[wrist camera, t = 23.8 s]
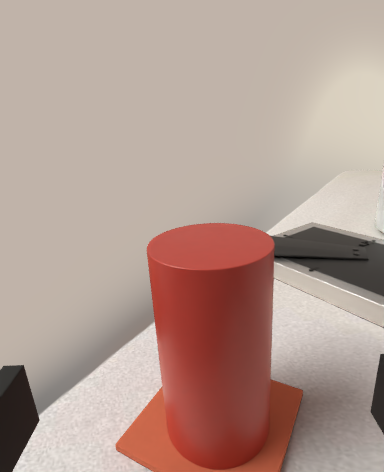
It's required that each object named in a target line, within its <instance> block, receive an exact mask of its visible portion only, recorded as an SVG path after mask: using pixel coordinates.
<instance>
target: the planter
mask: <svg viewBox="0 0 384 472" xmlns="http://www.w3.org/2000/svg"><path fill="white" fill-rule="evenodd" d="M375 226H376V228H377V229H378V230H379V231H381V232H382V233H384V165H383V172H382V179H381V185H380V192H379V198H378V204H377V210H376V217H375Z"/></svg>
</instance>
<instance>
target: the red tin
mask: <svg viewBox="0 0 384 472" xmlns="http://www.w3.org/2000/svg"><path fill="white" fill-rule="evenodd" d="M274 248H275V244H274V241H273V239H272V238H271V237H270V236H269V235H268V234H267V233H265V232H263V231H261V230H258V229H255V228H252V227H248V226H243V225H237V224H225V223H209V224H197V225H189V226H184V227H179V228H175V229H172V230H169V231H166V232H164V233H162V234H160V235H158V236H156V237H155V238H153V239H152V240H151V241H150V242H149V244H148V246H147V257H148V265H149V274H150V283H151V291H152V300H153V308H154V317H155V326H156V335H157V344H158V352H159V361H160V370H161V378H162V387H163V396H164V404H165V413H166V422H167V430H168V434H169V437H170V440H171V442H172V444H173V445H174V447H175V448H176V450H177V451H178V452H179V453H180V454H181V455H182V456H183V457H184V458H186V459H187V460H188V461H190V462H192V463H194V464H196V465H198V466H201V467H204V468H208V469H216V470H222V469H230V468H235V467H238V466H241V465H243V464H245V463H247V462H248V461H250V460H251V459H253V458H254V457H255V456H256V455H257V454H258V453H259V452H260V450H261V449H262V448H263V446H264V444H265V442H266V440H267V437H268V433H269V415H270V382H271V348H272V315H273V281H274Z"/></svg>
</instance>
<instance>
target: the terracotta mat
mask: <svg viewBox="0 0 384 472" xmlns="http://www.w3.org/2000/svg"><path fill="white" fill-rule="evenodd" d="M302 396H303V390H301V389H298V388H295V387H292V386H289V385H286V384H283V383H280V382H277V381H274V380H271V382H270V415H269V433H268V437H267V440H266V442H265V444H264V446H263V448H262V449H261V450H260V452H259V453H258V454H257V455H256V456H255V457H254V458H253V459H251V460H250V461H248V462H247V463H245V464H243V465H241V466H238V467H235V468H230V469H222V470H216V469H208V468H204V467H201V466H198V465H196V464H194V463H192V462H190V461H188V460H187V459H186V458H184V457H183V456H182V455H181V454H180V453H179V452H178V451H177V450H176V448H175V447H174V445H173V444H172V442H171V440H170V437H169V434H168V430H167V422H166V413H165V404H164V396H163V387H161V389H160V390H159V391H158V392H157V394H156V395H155V396H154V397H153V399H152V400H151V401H150V402H149V404H148V405H147V406H146V407H145V408H144V410H143V411H142V412H141V413H140V415H139V416H138V417H137V418H136V420H135V421H134V422H133V423H132V425H131V426H130V427H129V428H128V430H127V431H126V432H125V433H124V434H123V436H122V437H121V438H120V439H119V441H118V442H117V443H116V450H117V451H119V452H121V453H122V454H124V455H126V456H127V457H129V458H131V459H133V460H134V461H136V462H138V463H139V464H141V465H143V466H145V467H146V468H148V469H150V470H151V471H153V472H280V471H281V467H282V464H283V461H284V457H285V454H286V450H287V447H288V443H289V440H290V437H291V433H292V430H293V426H294V423H295V420H296V416H297V413H298V409H299V406H300V402H301V399H302Z"/></svg>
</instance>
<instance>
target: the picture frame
mask: <svg viewBox="0 0 384 472" xmlns="http://www.w3.org/2000/svg"><path fill="white" fill-rule="evenodd" d="M270 237H271V238H272V239H273V241H274V244H275V248H274V278H275V279H277V280H279V281H282V282H284V283H286V284H288V285H291V286H293V287H295V288H297V289H299V290H302V291H304V292H306V293H308V294H310V295H313V296H315V297H317V298H319V299H322V300H324V301H326V302H328V303H330V304H333V305H335V306H337V307H339V308H341V309H344V310H346V311H348V312H350V313H353V314H355V315H357V316H359V317H361V318H364V319H366V320H368V321H370V322H373V323H375V324H377V325H379V326H381V327H384V240H382V239H378V238H374V237H370V236H366V235H362V234H358V233H354V232H349V231H345V230H341V229H337V228H333V227H329V226H325V225H321V224H317V223H313V222H312V223H309V224H306V225H303V226H300V227H298V228H295V229H292V230H289V231H286V232H283V233H280V234H277V235H274V236H270Z"/></svg>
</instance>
